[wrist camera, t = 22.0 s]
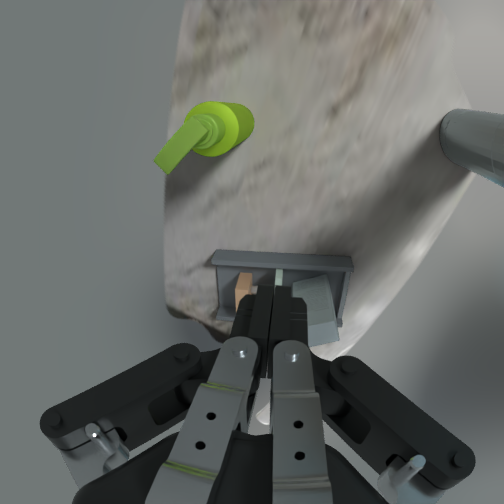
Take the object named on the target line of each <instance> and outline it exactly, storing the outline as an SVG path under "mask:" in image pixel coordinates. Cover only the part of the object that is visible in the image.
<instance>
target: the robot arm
mask: <svg viewBox="0 0 504 504" xmlns="http://www.w3.org/2000/svg"><path fill="white" fill-rule="evenodd" d="M440 142H441V146H442V149H443V151H444V153H445V155H446V156H447V157H448V158H449V159H450V160H451V161H452V162H454V163H456V164H458V165H460V166H462V167H464V168H466V169H468V170H470V171H472V172H474V173H477V174H479V175H481V176H483V177H485V178H487V179H489V180H491V181H492V182H494V183H496V184H498V185H500V186H502V187H504V115H503V114H497V113H489V112H482V111H475V110H467V109H455V110H452V111H451V112H449V113H448V114H447V115H446V116H445V117H444V119H443V121H442V124H441V127H440ZM267 364H268V376H267V378H270V379H271V391H270V433H269V434H265V435H257V436H254V435H250V434H248V428H249V424H250V420H251V417H252V413H253V409H254V405H255V401H256V397H257V392H258V391H257V390H258V388H259V383H260V378H266V372H267ZM184 419H185V420H184ZM322 419H323V420H324V421H325V422H326V423H327V424H328V425H329V426H330V427H331V428H332V429H333V430H334V431H335V432H336V433H337V434H338V435H339V436H340V437H341V438H342V439H343V440H344V441H345V442H346V443H347V444H348V445H349V446H350V447H351V448H352V449H353V450H354V451H355V452H356V453H357V454H358V455H359V456H360V457H361V458H362V459H363V460H364V461H366V462H367V463H368V464H369V465H370V466H371V467H372V468H373V469H374V470H375V471H376V472H377V473H378V474H379V475H380V476H379V478H378V482H377V485H378V489H379V491H380V492H381V493H382V495H383V496H384V498H385V499H384V498H383V497H382V496H381V495H380V494H379V493H378V492H377V491H376V490H375V489H374V488H373V487H372V486H371V485H370V484H369V483H368V482H367V481H366V479H365V478H364V477H363V476H361V474H360V473H359V472H358V471H357V470H356V469H355V468H354V467H353V466H352V465H351V464H350V463H349V462H348V460H346V458H345V457H344V456H343V455H342V454H341V453H340V452H338V451H337V450H336V449H334V448H333V447H331V446H329V445H327V444H325V440H324V430H323V421H322ZM182 420H184V423H183V425H182V427H181V429H180V431H179V432H176V433H174V434H172V435H170V436H168V437H166V438H164V439H162V440H161V441H159V442H158V443H156V444H155V445H153V446H152V447H150V448H148V449H147V450H145V451H144V452H142V453H141V454H139V455H137V456H135V457H134V458H132V459H130V460H129V461H128V459H129V452H130V451H131V450H133V449H135V448H137V447H138V446H140V445H142V444H144V443H146V442H147V441H149V440H151V439H152V438H154V437H156V436H158V435H159V434H161V433H163V432H164V431H166V430H168V429H169V428H171V427H172V426H174V425H176V424H177V423H179V422H180V421H182ZM40 428H41V430H42V432H43V433H44V434H45V436H46V437H47V438H48V439H49V440H50V441H51V442H52V443H53V445H54V446H55V447H56V448H57V449H58V450H59V451H60V452H61V454H62V456H63V459H64V461H65V463H66V465H67V467H68V468H69V471H70V473H71V475H72V477H73V479H74V480H75V482H76V484H77V486H78V488H79V491H78V492H77V493H76V495H75V497H74V499H73V502H72V504H435V503H436V502H437V501H438V500H439V499H440V498H441V497H442V495H443V494H444V493H445V492H446V491H448V490H449V489H451V488H452V487H453V486H455V485H456V484H458V483H459V482H460V481H462V480H463V479H465V478H466V477H467V476H469V475H470V474H471V473H472V471H473V469H474V467H475V455H474V453H473V451H472V450H471V449H470V448H469V447H468V446H467V445H466V444H464V443H463V442H462V441H461V440H459V439H458V438H457V437H455V436H454V435H453V434H452V433H450V432H449V431H448V430H447V429H445V428H444V427H443V426H442V425H440V424H439V423H438V422H437V421H435V420H434V419H433V418H431V417H430V416H429V415H428V414H426V413H425V412H424V411H423V410H421V409H420V408H419V407H418V406H416V405H415V404H414V403H413V402H411V401H410V400H409V399H408V398H407V397H405V396H404V395H403V394H401V393H400V392H399V391H398V390H397V389H395V388H394V387H393V386H392V385H390V384H389V383H388V382H387V381H385V380H384V379H383V378H382V377H381V376H379V375H378V374H377V373H376V372H374V371H373V370H372V369H371V368H370V367H368V366H367V365H366V364H365V363H363V362H362V361H361V360H359V359H358V358H356V357H353V356H340V357H337V358H336V359H334V360H333V361H332V362H331V361H328V360H324V359H321V358H319V357H317V356H316V355H314V354H313V353H312V352H311V350H310V349H309V346H308V321H307V304H306V303H305V301H304V300H303V298H300V297H291V286H281V285H275V293H274V285H264V284H258V288H257V293H256V295H250V294H246V295H245V296H244V297H243V298H242V299H241V300H240V301H239V305H238V309H237V312H236V316H235V319H234V323H233V327H232V330H231V334H230V338H229V339H228V340H226V341H225V342H224V343H223V345H222V347H221V348H219V349H217V350H213V351H207V352H200V351H199V350H198V348H197V347H195V346H194V345H191V344H188V343H180V344H176V345H173V346H171V347H169V348H168V349H166V350H164V351H162V352H160V353H158V354H156V355H155V356H153V357H151V358H149V359H147V360H145V361H143V362H141V363H139V364H137V365H136V366H134V367H132V368H130V369H128V370H126V371H124V372H122V373H120V374H118V375H116V376H114V377H112V378H110V379H108V380H106V381H104V382H103V383H100V384H99V385H97V386H94V387H92V388H90V389H89V390H86V391H85V392H82V393H80V394H78V395H76V396H74V397H72V398H70V399H68V400H66V401H64V402H62V403H60V404H58V405H56V406H53V407H51V408H49V409H48V410H46V411H45V412H44V413H43V415H42V417H41V419H40Z"/></svg>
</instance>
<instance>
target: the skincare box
mask: <svg viewBox="0 0 504 504" xmlns="http://www.w3.org/2000/svg"><path fill="white" fill-rule="evenodd" d="M293 297H300V298H303V300H304V301H305V303H306V304H307V321H308V346H309V347H313V346H317V345H322V344H326V343H330V342H335V341H339V333H338V327H337V321H336V316H335V310H334V304H333V299H332V293H331V289H330V285H329V281H328V277H327V274H324V275H321V276H317V277H313V278H309V279H305V280H301V281H297V282H293Z"/></svg>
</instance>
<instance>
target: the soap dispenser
mask: <svg viewBox="0 0 504 504" xmlns="http://www.w3.org/2000/svg"><path fill="white" fill-rule="evenodd" d="M253 128H254V118H253V115H252V113H251V112H250V110H249V109H248V108H246V107H245V106H243V105H241V104H236V103H225V102H213V101H210V102H204V103H201V104H199V105H197V106H195V107H194V108H193V109H192V110H191V111H190V112H189V113H188V115H187V116H186V118H185V121H184V124H183V125H182V127H181V128H180V129H179V130H178V131H177V132H176V133H175V134H174V135H173V136H172V138H171V139H170V140H169V141H168V142H167V143H166V145H165V146H164V147H163V148H162V150H161V151H160V152H159V154H158V155H157V156H156V158H155V159H154V162H155V163H156V164H157V165H158V166H159V167H160V168H161V169H162V170H163V171H164V172H165V173H166V174H167V175H168V174H169V173H171V172H172V171H173V170H174V168H175V167H176V166H177V165H178V164H179V163H180V161H181V160H182V159H183V158H184V157H185V156H186V155H187V154H188V153H189V152H190V151H191V149H192V150H193V151H195V152H196V153H198V154H200V155H203V156H208V157H214V156H219V155H222V154H224V153H226V152H227V151H229V150H230V149H232V148H233V147H234V146H236V145H237V144H239V143H241V142H242V141H244V140H245V139H247V138H248V137H249V136H250V134H251V133H252V131H253Z"/></svg>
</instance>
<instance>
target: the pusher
mask: <svg viewBox="0 0 504 504" xmlns="http://www.w3.org/2000/svg"><path fill="white" fill-rule="evenodd" d="M282 278H283V269H280V268H276V277H275V285H281V286H282ZM257 288H258V286H252V273H243V272H240V275H239V278H238V281H237V285H236V288H235V299H236V312H237V309H238V305H239V301H240V300H241V299H242V298H243V297H244V296H245V295H246V294H250V295H252V294H256V293H257ZM274 293H275V287H274Z"/></svg>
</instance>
